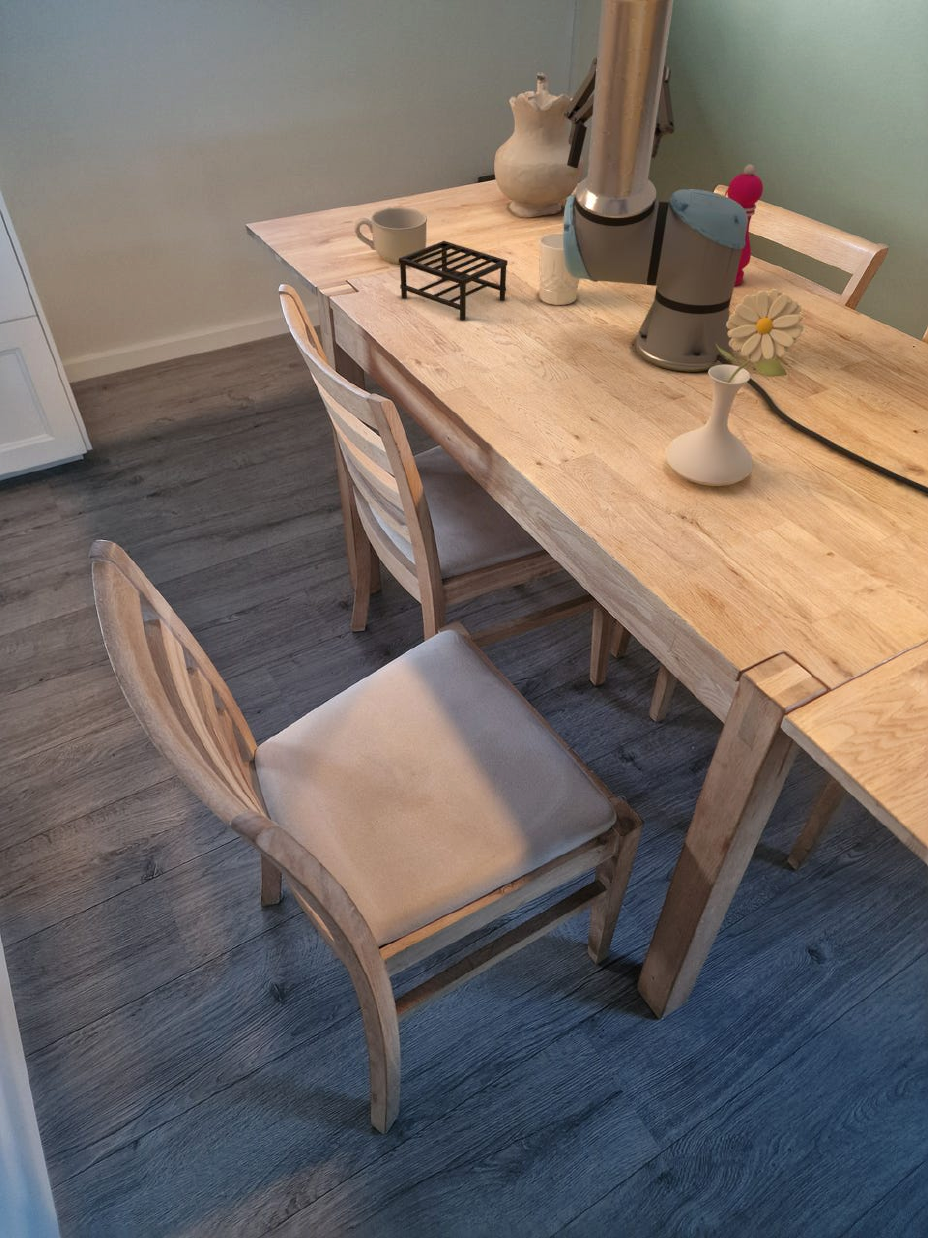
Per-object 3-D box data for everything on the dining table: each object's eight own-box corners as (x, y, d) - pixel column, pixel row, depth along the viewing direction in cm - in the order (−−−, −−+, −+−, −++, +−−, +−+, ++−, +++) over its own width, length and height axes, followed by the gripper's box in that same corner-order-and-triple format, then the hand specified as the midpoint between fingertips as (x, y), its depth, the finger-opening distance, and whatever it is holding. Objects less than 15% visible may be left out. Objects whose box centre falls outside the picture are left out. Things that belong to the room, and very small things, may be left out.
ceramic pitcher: (486, 198, 197) (480, 75, 179) (566, 187, 198) (568, 64, 181) (505, 230, 181) (501, 99, 164) (592, 218, 183) (597, 86, 165)
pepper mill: (752, 284, 157) (780, 168, 144) (720, 289, 155) (745, 172, 142) (730, 270, 162) (755, 156, 149) (698, 275, 160) (721, 160, 147)
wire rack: (506, 299, 151) (507, 260, 147) (463, 320, 145) (463, 280, 140) (444, 278, 158) (443, 240, 154) (400, 297, 152) (398, 258, 147)
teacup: (431, 249, 169) (430, 207, 164) (424, 270, 161) (422, 226, 156) (363, 246, 170) (360, 205, 165) (353, 266, 162) (349, 223, 157)
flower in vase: (645, 469, 111) (680, 280, 94) (694, 437, 117) (735, 255, 100) (730, 510, 105) (784, 316, 87) (777, 475, 110) (837, 286, 93)
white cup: (529, 291, 154) (533, 235, 147) (569, 287, 156) (574, 231, 149) (545, 308, 149) (550, 251, 142) (586, 303, 150) (592, 246, 143)
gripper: (718, 40, 134) (678, 186, 143) (585, 30, 146) (555, 165, 154) (702, 26, 128) (661, 179, 137) (564, 16, 140) (535, 158, 149)
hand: (605, 172), depth 146 cm, fingers open, 13 cm apart
